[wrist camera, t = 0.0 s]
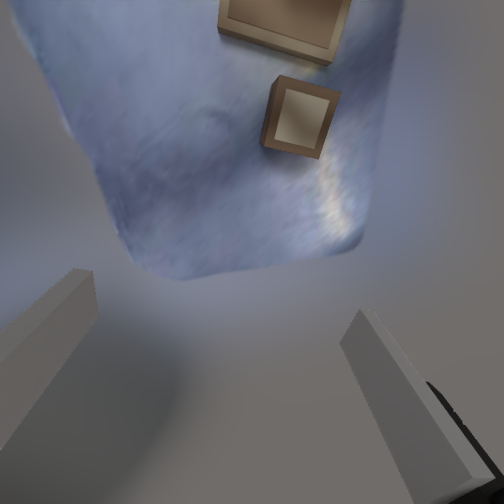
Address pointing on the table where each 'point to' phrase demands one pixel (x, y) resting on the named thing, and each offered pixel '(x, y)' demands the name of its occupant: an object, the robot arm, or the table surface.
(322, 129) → the walnut block
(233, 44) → the table surface
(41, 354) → the robot arm
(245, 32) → the maple pad
